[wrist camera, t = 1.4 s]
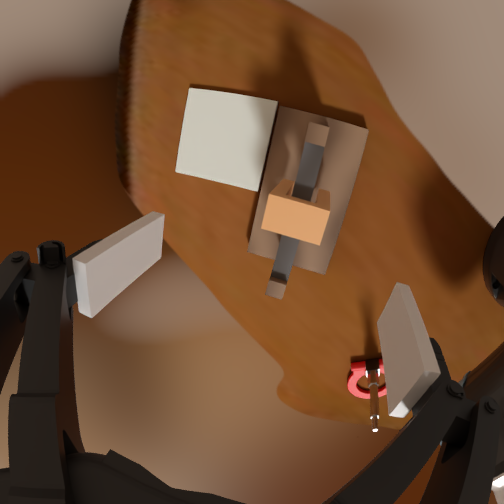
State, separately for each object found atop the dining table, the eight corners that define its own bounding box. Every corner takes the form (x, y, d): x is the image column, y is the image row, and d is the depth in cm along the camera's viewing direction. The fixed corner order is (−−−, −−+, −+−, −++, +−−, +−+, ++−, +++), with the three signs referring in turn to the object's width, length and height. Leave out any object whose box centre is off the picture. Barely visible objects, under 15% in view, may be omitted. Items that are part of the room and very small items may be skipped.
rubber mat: (278, 101, 31) (277, 101, 31) (258, 190, 36) (257, 191, 36) (191, 88, 33) (189, 87, 32) (177, 171, 38) (175, 171, 37)
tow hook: (396, 390, 43) (398, 353, 40) (401, 453, 32) (407, 422, 29) (349, 396, 46) (345, 360, 43) (345, 459, 35) (342, 430, 32)
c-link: (330, 191, 30) (330, 211, 23) (322, 218, 31) (319, 245, 24) (283, 178, 31) (269, 193, 24) (277, 205, 32) (261, 228, 25)
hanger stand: (367, 129, 30) (385, 129, 20) (325, 269, 38) (320, 322, 28) (281, 106, 31) (259, 95, 21) (250, 247, 39) (220, 291, 29)
